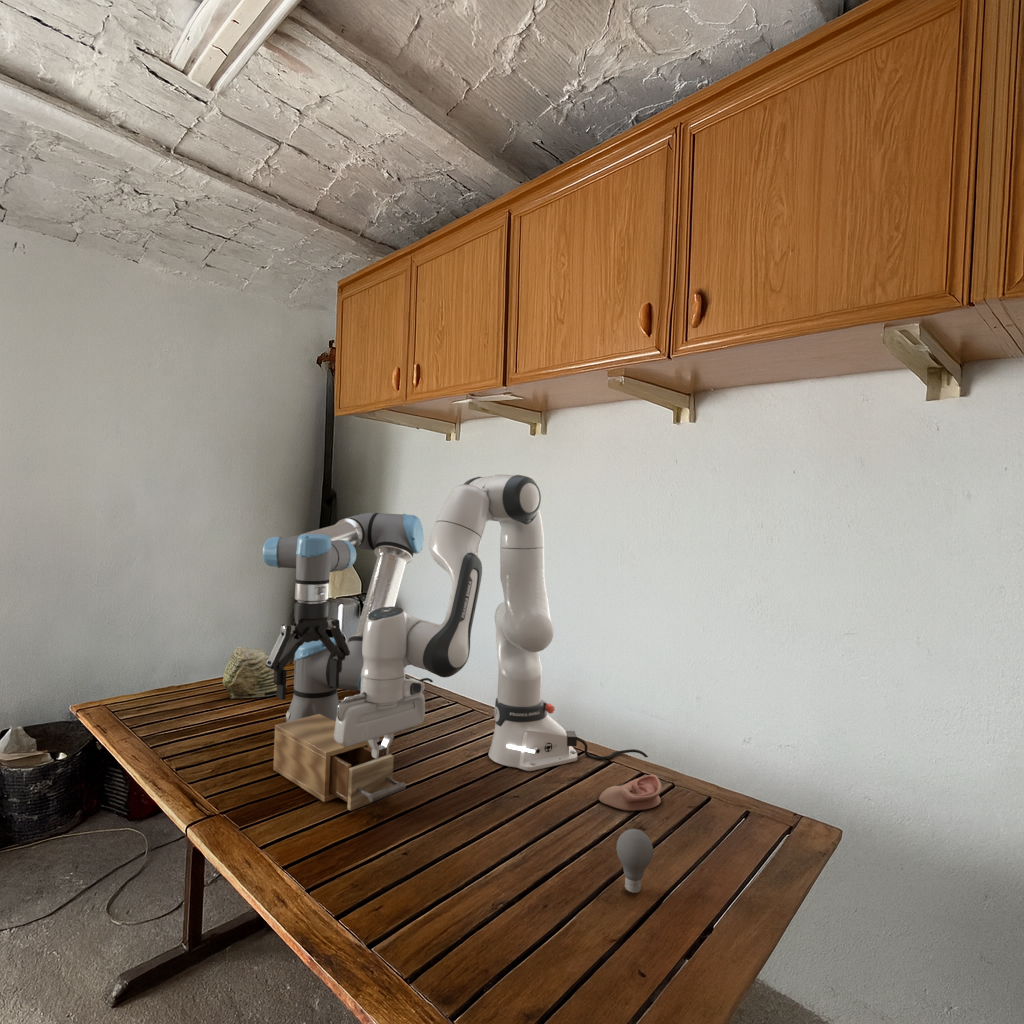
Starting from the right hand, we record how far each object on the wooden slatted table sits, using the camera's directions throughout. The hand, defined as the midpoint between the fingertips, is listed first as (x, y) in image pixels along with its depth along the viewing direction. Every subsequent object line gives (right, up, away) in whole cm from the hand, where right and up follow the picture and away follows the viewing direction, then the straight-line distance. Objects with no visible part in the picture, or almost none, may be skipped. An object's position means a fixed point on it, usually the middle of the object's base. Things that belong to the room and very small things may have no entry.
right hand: (379, 756), depth 129 cm
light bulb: (+47, -14, -23) cm, 54 cm away
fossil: (-54, -8, +69) cm, 88 cm away
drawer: (-7, -10, +6) cm, 14 cm away
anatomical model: (+53, -14, +10) cm, 55 cm away
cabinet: (-16, -10, +14) cm, 24 cm away
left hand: (-20, +8, +18) cm, 28 cm away
